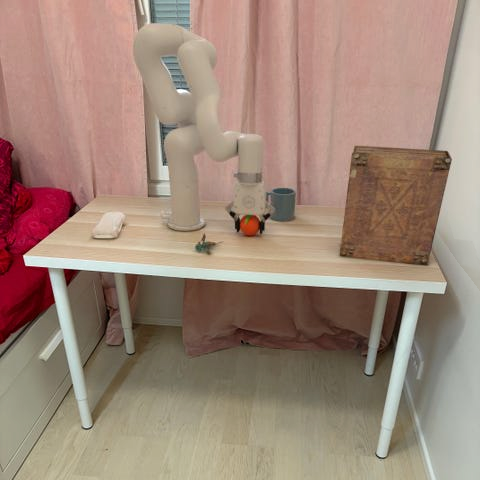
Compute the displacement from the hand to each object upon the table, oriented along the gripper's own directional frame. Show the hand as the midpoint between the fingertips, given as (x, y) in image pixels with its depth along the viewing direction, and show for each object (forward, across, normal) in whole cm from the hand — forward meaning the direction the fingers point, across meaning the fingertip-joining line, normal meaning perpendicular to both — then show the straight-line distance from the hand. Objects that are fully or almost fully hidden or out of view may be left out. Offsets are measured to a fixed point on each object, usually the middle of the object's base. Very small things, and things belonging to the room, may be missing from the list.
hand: (249, 231), depth 156 cm
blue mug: (+1, +7, +21) cm, 22 cm away
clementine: (+2, 0, 0) cm, 2 cm away
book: (+2, +42, -9) cm, 43 cm away
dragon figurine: (+2, -11, -14) cm, 18 cm away
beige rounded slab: (+1, -47, -3) cm, 47 cm away
